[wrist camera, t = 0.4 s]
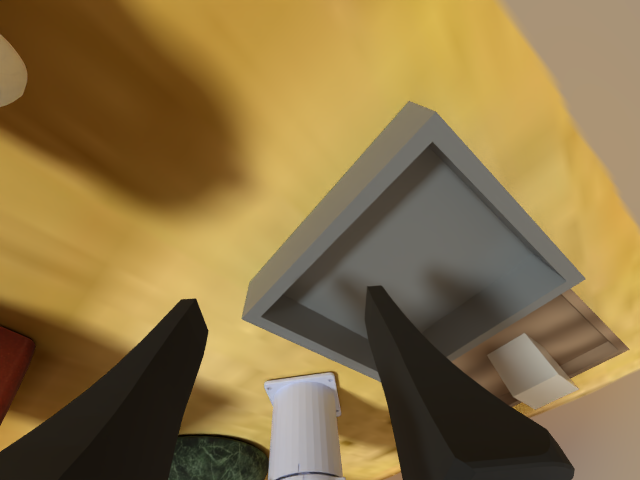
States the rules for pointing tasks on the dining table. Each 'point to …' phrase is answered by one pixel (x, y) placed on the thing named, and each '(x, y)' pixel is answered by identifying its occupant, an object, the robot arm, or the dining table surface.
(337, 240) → the bin
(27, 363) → the plant pot
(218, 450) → the goblet
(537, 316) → the tray
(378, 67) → the dining table surface
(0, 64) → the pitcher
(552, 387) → the block
